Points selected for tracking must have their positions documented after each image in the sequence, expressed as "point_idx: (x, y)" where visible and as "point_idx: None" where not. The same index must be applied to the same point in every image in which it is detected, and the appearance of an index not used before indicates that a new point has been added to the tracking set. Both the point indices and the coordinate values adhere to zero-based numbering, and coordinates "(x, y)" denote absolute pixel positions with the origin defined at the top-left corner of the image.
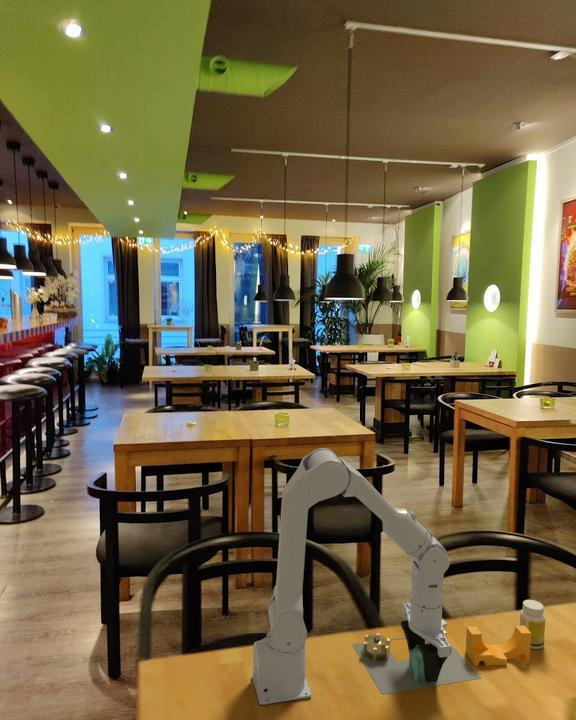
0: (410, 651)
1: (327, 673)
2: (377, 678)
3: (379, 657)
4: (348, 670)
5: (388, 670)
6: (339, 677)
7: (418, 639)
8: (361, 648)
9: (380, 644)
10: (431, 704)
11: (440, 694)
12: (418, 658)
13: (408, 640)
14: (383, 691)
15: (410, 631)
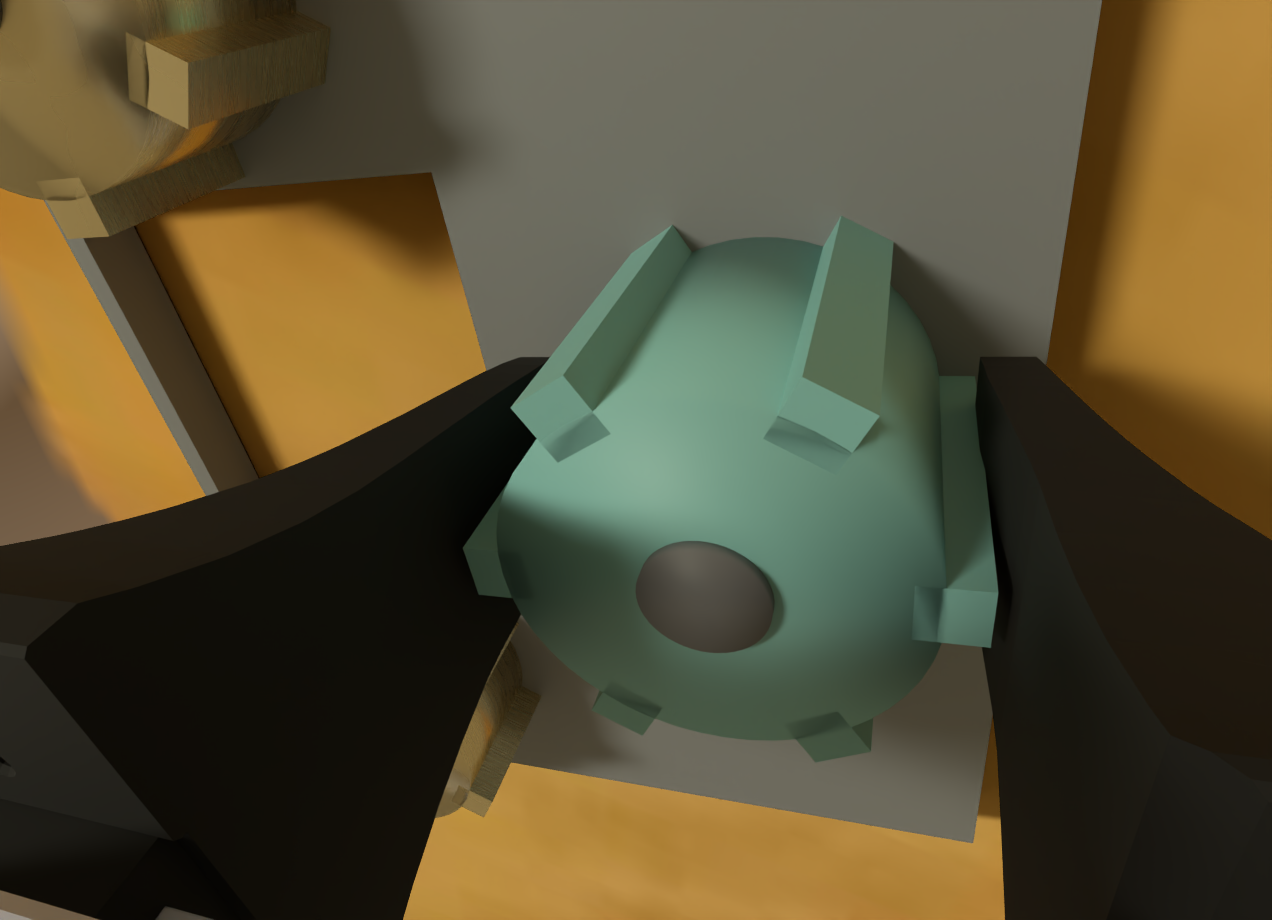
0: (635, 722)
1: (620, 892)
2: (761, 779)
3: (510, 692)
4: (596, 806)
5: None
6: (664, 867)
7: (411, 617)
8: None
9: None
10: (1250, 480)
11: (1130, 289)
12: (826, 727)
13: (456, 744)
14: (943, 822)
15: (366, 880)
